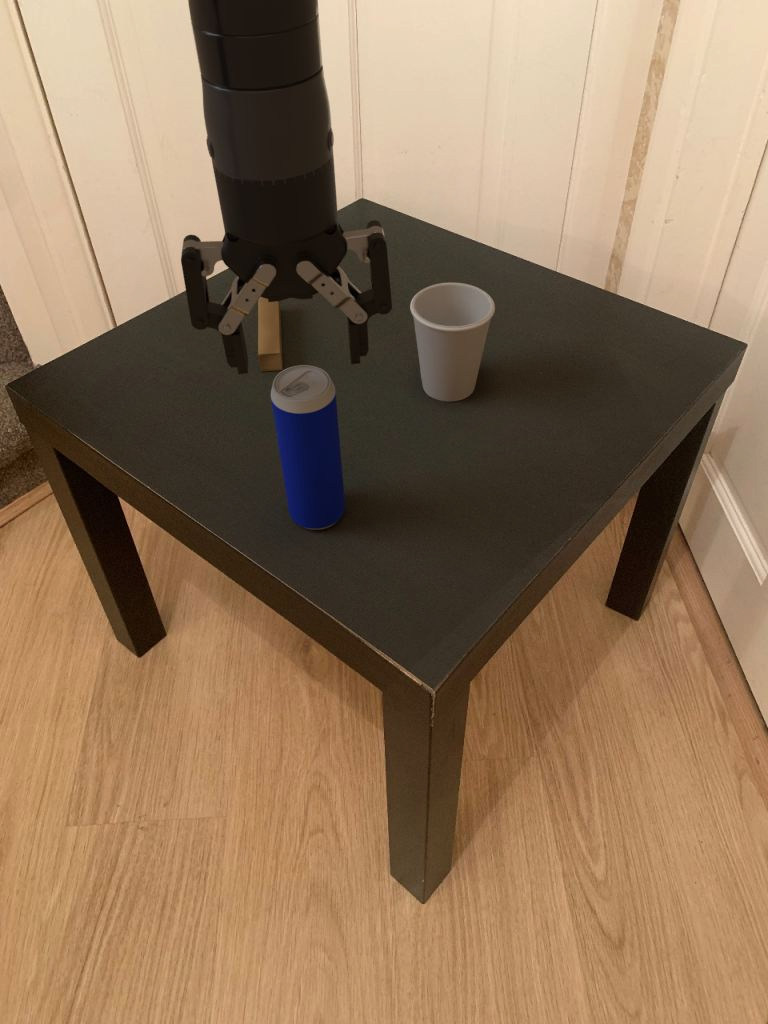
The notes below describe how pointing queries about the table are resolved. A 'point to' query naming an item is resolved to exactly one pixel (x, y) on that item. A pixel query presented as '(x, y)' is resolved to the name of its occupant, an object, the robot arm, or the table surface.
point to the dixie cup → (451, 337)
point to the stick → (269, 335)
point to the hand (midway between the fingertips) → (299, 362)
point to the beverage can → (309, 445)
